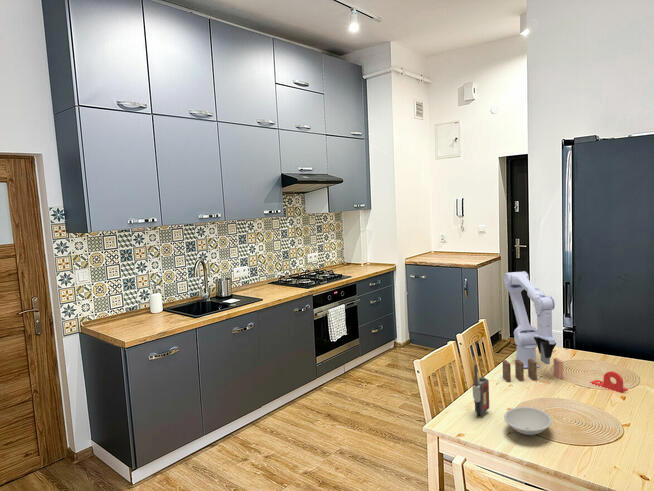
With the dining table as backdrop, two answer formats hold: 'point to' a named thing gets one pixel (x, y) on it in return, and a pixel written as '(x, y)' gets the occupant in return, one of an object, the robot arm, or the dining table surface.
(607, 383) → the bracket
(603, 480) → the dining table surface
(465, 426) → the dining table surface
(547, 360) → the gap domino
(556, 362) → the domino
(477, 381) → the walkie-talkie
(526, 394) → the dining table surface
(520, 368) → the domino
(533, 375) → the domino
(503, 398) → the dining table surface
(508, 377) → the brown wooden block
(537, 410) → the dish
